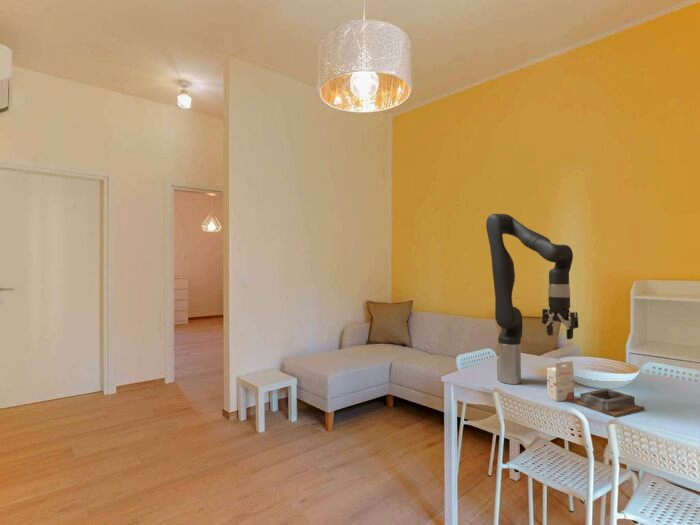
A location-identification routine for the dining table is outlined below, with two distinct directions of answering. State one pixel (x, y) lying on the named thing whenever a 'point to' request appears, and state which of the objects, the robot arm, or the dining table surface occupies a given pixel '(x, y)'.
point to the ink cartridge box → (561, 381)
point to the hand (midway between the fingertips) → (559, 337)
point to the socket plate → (614, 412)
